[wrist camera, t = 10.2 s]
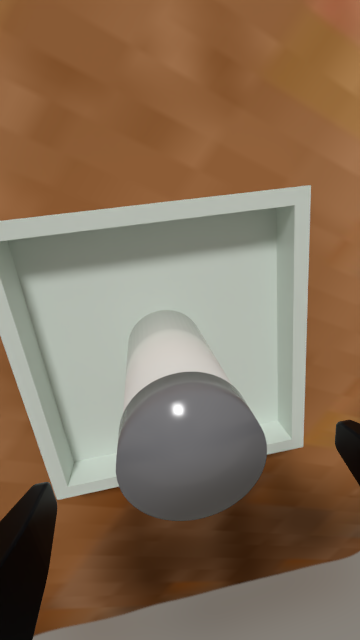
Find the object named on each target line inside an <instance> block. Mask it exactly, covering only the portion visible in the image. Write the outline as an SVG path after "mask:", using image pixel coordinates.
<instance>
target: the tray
mask: <svg viewBox="0 0 360 640" xmlns="http://www.w3.org/2000/svg"><path fill="white" fill-rule="evenodd" d="M310 198H311V185H309V186H300V187H291V188H283V189H274V190H265V191H257V192H248V193H239V194H231V195H222V196H213V197H205V198H196V199H187V200H179V201H170V202H161V203H152V204H144V205H135V206H126V207H118V208H109V209H100V210H92V211H83V212H74V213H66V214H57V215H48V216H40V217H31V218H22V219H14V220H5V221H0V336H1V339H2V342H3V344H4V347H5V350H6V353H7V356H8V359H9V362H10V365H11V368H12V371H13V373H14V376H15V379H16V382H17V385H18V388H19V391H20V394H21V397H22V399H23V402H24V405H25V408H26V411H27V414H28V417H29V420H30V423H31V426H32V428H33V431H34V434H35V437H36V440H37V443H38V446H39V449H40V452H41V454H42V457H43V460H44V463H45V466H46V469H47V472H48V475H49V478H50V481H51V483H52V486H53V489H54V492H55V495H56V498H57V500H59V499H64V498H68V497H73V496H77V495H82V494H87V493H91V492H96V491H101V490H105V489H110V488H115V487H119V485H118V482H117V477H116V457H117V445H118V434H119V425H120V421H121V418H122V415H123V407H124V393H125V379H126V365H127V351H128V340H129V336H130V333H131V331H132V329H133V328H134V326H135V325H136V324H137V322H138V321H140V320H141V319H142V318H143V317H145V316H146V315H148V314H150V313H153V312H156V311H160V310H172V311H177V312H180V313H182V314H185V315H186V316H188V317H189V318H190V319H191V320H192V321H193V322H194V323H195V324H196V326H197V327H198V329H199V330H200V332H201V334H202V335H203V337H204V339H205V340H206V342H207V344H208V345H209V347H210V349H211V350H212V352H213V354H214V355H215V357H216V359H217V360H218V362H219V364H220V365H221V367H222V369H223V371H224V372H225V374H226V376H227V377H228V379H229V381H230V382H231V384H232V385H233V386H234V387H235V388H236V389H237V390H238V391H239V392H240V394H241V395H242V397H243V398H244V400H245V402H246V403H247V405H248V406H249V408H250V410H251V411H252V413H253V415H254V416H255V418H256V419H257V421H258V423H259V424H260V426H261V428H262V430H263V432H264V435H265V438H266V443H267V455H268V454H272V453H277V452H281V451H286V450H291V449H295V448H300V447H303V437H304V403H305V369H306V335H307V301H308V267H309V232H310Z"/></svg>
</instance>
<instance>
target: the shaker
mask: <svg viewBox="0 0 360 640" xmlns="http://www.w3.org/2000/svg"><path fill="white" fill-rule="evenodd" d="M266 457H267V443H266V438H265V435H264V432H263V430H262V428H261V426H260V424H259V423H258V421H257V419H256V418H255V416H254V415H253V413H252V411H251V410H250V408H249V406H248V405H247V403H246V402H245V400H244V398H243V397H242V395H241V394H240V392H239V391H238V390H237V389H236V388H235V387H234V386H233V385H232V384H231V382H230V381H229V379H228V377H227V376H226V374H225V372H224V371H223V369H222V367H221V365H220V364H219V362H218V360H217V359H216V357H215V355H214V354H213V352H212V350H211V349H210V347H209V345H208V344H207V342H206V340H205V339H204V337H203V335H202V334H201V332H200V330H199V329H198V327H197V326H196V324H195V323H194V322H193V321H192V320H191V319H190V318H189V317H188V316H186V315H185V314H182V313H180V312H177V311H172V310H160V311H156V312H153V313H150V314H148V315H146V316H145V317H143V318H142V319H141V320H140V321H138V322H137V324H136V325H135V326H134V328H133V329H132V331H131V333H130V336H129V340H128V351H127V365H126V379H125V393H124V407H123V415H122V418H121V421H120V425H119V434H118V445H117V457H116V477H117V482H118V485H119V488H120V489H121V491H122V493H123V495H124V496H125V497H126V499H127V500H128V501H129V502H130V503H131V504H132V505H133V506H134V507H136V508H137V509H139V510H140V511H142V512H144V513H146V514H148V515H150V516H153V517H156V518H160V519H164V520H172V521H187V520H195V519H201V518H205V517H208V516H211V515H214V514H217V513H219V512H221V511H223V510H225V509H227V508H229V507H230V506H232V505H234V504H235V503H236V502H238V501H239V500H240V499H242V498H243V497H244V496H245V495H246V494H247V493H248V492H249V491H250V490H251V489H252V487H253V486H254V485H255V483H256V482H257V481H258V479H259V477H260V475H261V473H262V471H263V468H264V466H265V462H266Z"/></svg>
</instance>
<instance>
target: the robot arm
mask: <svg viewBox="0 0 360 640" xmlns="http://www.w3.org/2000/svg"><path fill="white" fill-rule="evenodd" d="M335 445H336V448H337V450H338V452H339V454H340V455H341V457H342V458H343V460H344V462H345V463H346V465H347V466H348V468H349V470H350V471H351V473H352V474H353V476H354V478H355V479H356V481H357V482H358V484H359V486H360V424H359V423H357V422H354V421H352V420H345V421H340V422H338V423H337V424H336V435H335ZM56 515H57V502H56V499H55V496H54V493H53V490H52V487H51V485H50V483H49V482H44V483H39V484H35V485H33V486H32V487H31V488H30V489H29V490H28V491H27V492H26V494H25V495H24V496H23V497H22V498H21V499H20V500H19V501H18V502H17V504H16V505H15V506H14V507H13V508H12V509H11V510H10V511H9V512H8V513H7V515H6V516H5V517H4V518H3V519H2V520H1V521H0V640H32V639H33V635H34V631H35V626H36V622H37V618H38V614H39V610H40V605H41V601H42V597H43V593H44V589H45V584H46V580H47V575H48V570H49V564H50V557H51V550H52V543H53V536H54V529H55V522H56Z"/></svg>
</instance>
